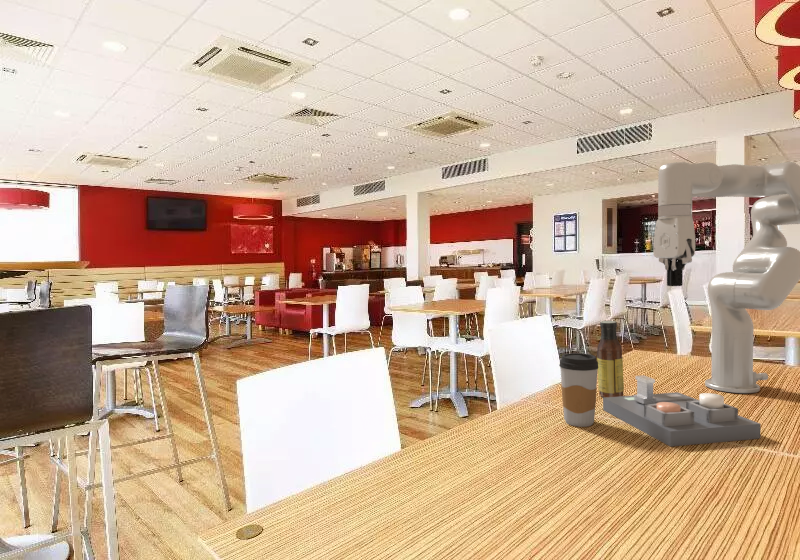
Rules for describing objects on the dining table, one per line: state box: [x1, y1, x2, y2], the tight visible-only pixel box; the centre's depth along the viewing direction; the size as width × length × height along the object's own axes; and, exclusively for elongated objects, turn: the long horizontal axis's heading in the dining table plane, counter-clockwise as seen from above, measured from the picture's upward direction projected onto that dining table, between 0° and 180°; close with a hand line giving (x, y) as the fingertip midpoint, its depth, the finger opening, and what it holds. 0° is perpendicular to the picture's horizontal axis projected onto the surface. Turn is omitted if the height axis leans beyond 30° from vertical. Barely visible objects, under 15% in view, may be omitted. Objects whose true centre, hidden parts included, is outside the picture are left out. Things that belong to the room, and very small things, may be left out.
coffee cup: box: [558, 352, 599, 428], centre depth 115 cm, size 8×8×15 cm
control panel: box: [602, 391, 762, 447], centre depth 113 cm, size 20×24×6 cm
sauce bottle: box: [596, 320, 625, 398], centre depth 134 cm, size 7×6×20 cm
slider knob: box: [633, 374, 656, 404], centre depth 118 cm, size 3×4×6 cm
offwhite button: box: [698, 392, 725, 409], centre depth 108 cm, size 4×4×2 cm
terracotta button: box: [657, 402, 681, 413], centre depth 106 cm, size 4×4×2 cm
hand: (674, 285), depth 129 cm, fingers closed
